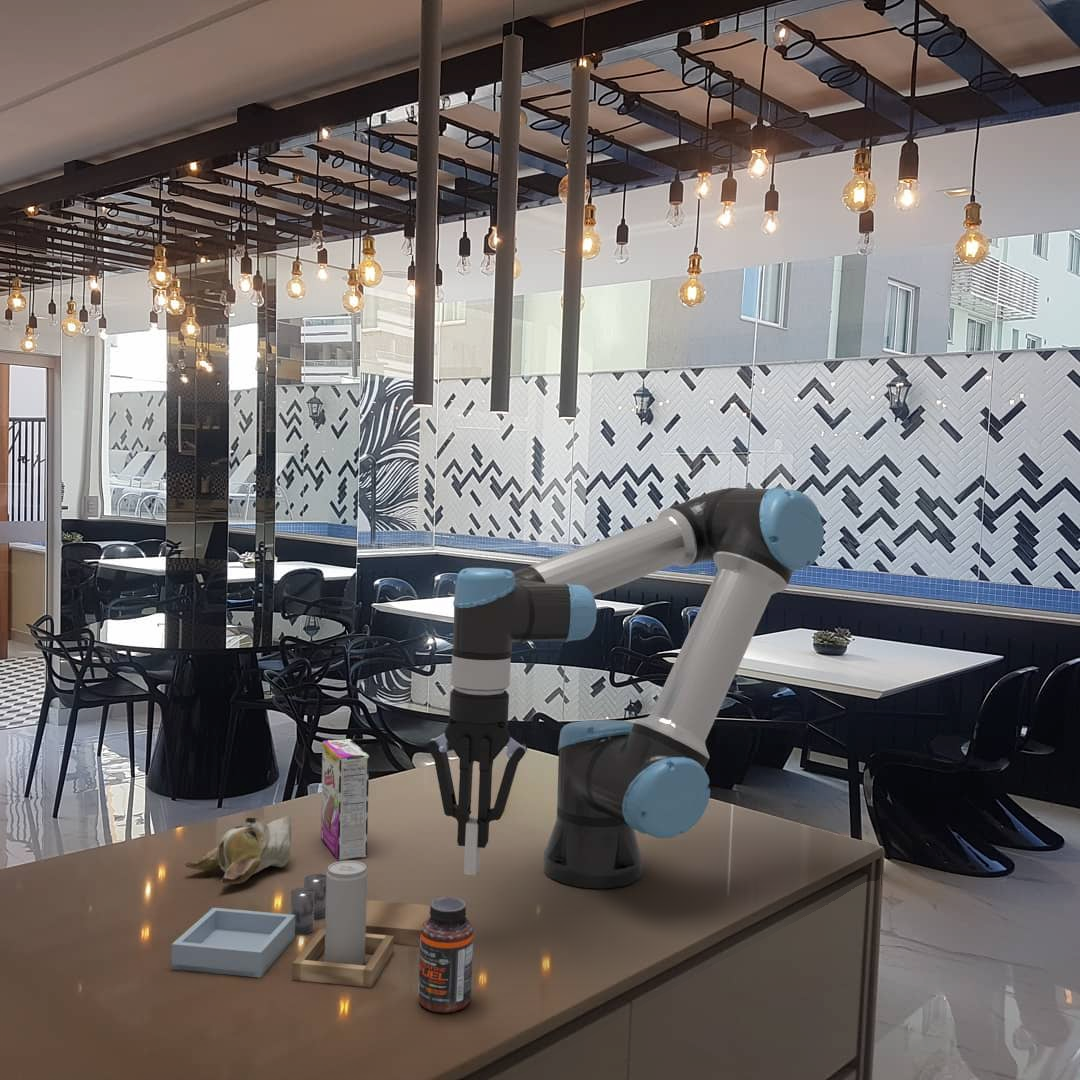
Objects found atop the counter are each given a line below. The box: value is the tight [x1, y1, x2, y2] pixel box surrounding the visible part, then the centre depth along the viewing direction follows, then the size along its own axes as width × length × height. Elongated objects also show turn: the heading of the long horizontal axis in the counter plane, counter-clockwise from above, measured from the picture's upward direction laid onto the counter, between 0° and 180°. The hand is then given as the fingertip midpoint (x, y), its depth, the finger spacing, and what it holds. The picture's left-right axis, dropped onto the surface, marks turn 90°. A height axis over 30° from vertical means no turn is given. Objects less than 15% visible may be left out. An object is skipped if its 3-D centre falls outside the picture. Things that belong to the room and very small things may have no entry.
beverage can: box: [324, 860, 368, 965], centre depth 124 cm, size 5×5×12 cm
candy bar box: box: [320, 738, 370, 862], centre depth 164 cm, size 11×5×16 cm, turn 26°
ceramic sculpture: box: [184, 815, 292, 885], centre depth 152 cm, size 11×9×15 cm
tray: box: [170, 907, 296, 979], centre depth 126 cm, size 11×11×3 cm
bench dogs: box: [289, 873, 327, 936], centre depth 136 cm, size 3×8×5 cm, turn 173°
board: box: [366, 899, 431, 947], centre depth 135 cm, size 10×8×2 cm
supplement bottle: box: [417, 896, 474, 1014], centre depth 116 cm, size 6×6×11 cm
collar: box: [291, 928, 395, 988], centre depth 124 cm, size 10×10×2 cm
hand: (471, 870), depth 133 cm, fingers closed
